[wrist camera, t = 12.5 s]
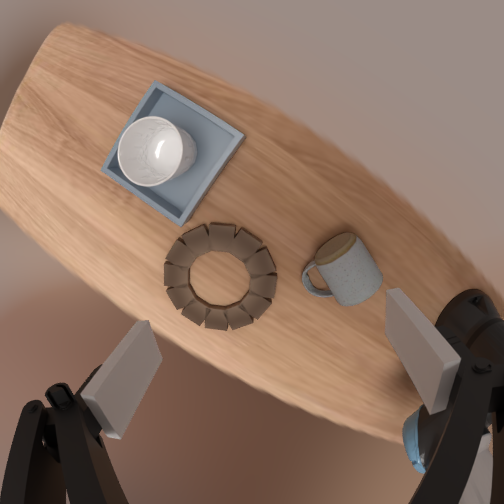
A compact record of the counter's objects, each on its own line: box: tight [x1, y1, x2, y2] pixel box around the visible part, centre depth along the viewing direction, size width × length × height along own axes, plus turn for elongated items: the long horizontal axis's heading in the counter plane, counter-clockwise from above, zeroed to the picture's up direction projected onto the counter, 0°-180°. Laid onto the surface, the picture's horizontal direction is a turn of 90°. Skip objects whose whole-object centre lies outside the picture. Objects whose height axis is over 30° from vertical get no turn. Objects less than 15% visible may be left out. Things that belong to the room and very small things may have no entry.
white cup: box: [118, 116, 198, 187], centre depth 34 cm, size 8×8×10 cm
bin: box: [101, 80, 246, 227], centre depth 38 cm, size 15×15×4 cm
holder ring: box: [164, 223, 277, 331], centre depth 44 cm, size 17×17×1 cm
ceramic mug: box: [302, 232, 383, 306], centre depth 40 cm, size 11×8×8 cm
